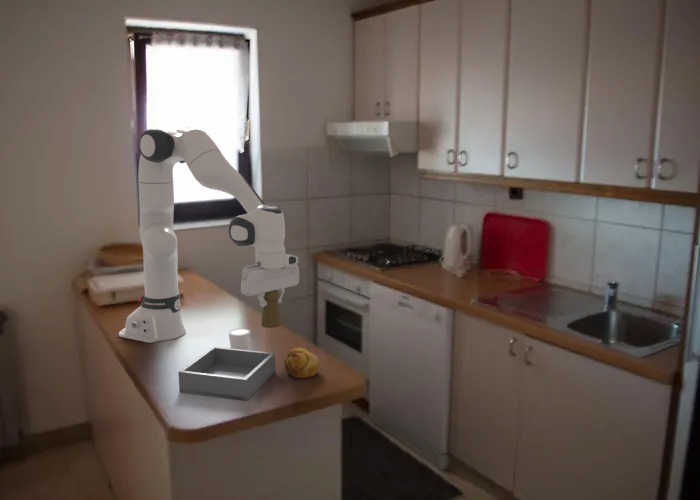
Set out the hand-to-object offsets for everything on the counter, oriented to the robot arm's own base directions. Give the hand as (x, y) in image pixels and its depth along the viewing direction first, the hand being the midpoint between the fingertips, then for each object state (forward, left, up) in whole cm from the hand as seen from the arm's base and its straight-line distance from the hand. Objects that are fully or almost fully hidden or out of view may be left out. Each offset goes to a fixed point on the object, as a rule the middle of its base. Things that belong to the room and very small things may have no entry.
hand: (270, 304), depth 189 cm
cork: (0, 0, -7) cm, 7 cm away
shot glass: (-13, +4, -18) cm, 23 cm away
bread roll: (+11, -6, -19) cm, 22 cm away
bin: (-6, -18, -18) cm, 26 cm away
